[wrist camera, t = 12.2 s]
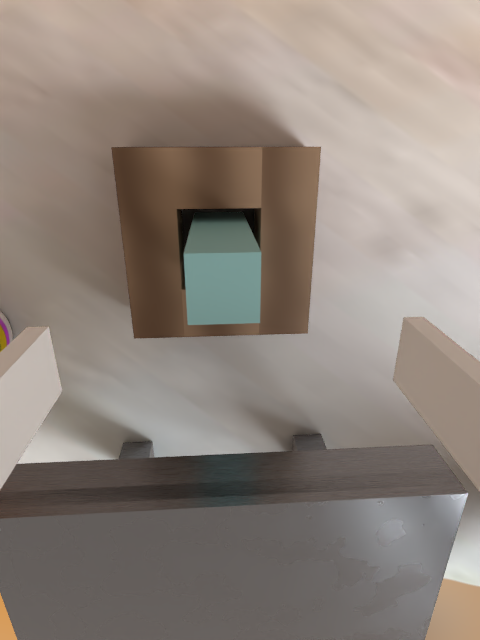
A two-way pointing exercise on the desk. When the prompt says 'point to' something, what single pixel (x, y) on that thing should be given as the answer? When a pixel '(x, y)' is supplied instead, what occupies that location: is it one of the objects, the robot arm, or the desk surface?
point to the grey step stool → (229, 544)
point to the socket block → (216, 193)
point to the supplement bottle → (5, 332)
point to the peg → (222, 270)
